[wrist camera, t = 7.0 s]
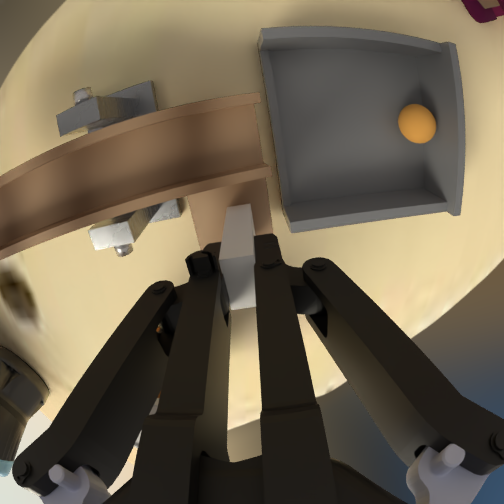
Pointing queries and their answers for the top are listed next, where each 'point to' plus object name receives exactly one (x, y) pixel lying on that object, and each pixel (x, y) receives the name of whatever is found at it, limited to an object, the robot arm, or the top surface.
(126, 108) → the fulcrum
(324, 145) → the tray
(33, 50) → the top surface
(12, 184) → the lever
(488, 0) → the book
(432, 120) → the ball
